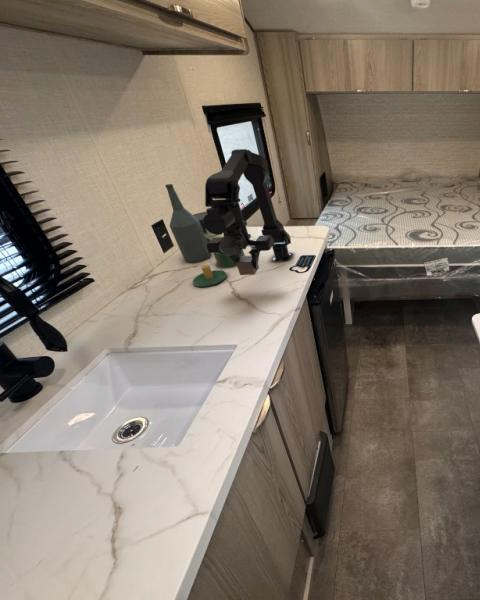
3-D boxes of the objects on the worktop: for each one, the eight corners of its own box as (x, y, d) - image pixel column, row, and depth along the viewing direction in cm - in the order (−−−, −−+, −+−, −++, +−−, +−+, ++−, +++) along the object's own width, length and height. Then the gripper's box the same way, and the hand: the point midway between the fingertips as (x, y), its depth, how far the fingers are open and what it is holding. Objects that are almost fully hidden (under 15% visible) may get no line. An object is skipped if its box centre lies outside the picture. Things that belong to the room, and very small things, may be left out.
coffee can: (200, 252, 141) (188, 221, 133) (201, 244, 148) (189, 214, 141) (226, 247, 144) (215, 216, 136) (226, 239, 152) (215, 210, 144)
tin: (224, 256, 137) (220, 243, 133) (249, 255, 137) (245, 242, 133) (213, 268, 128) (208, 254, 125) (240, 267, 128) (235, 253, 125)
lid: (202, 273, 124) (197, 260, 121) (231, 272, 125) (227, 259, 121) (187, 288, 115) (181, 274, 112) (219, 287, 115) (213, 273, 112)
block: (245, 268, 106) (241, 256, 104) (259, 267, 106) (255, 255, 104) (240, 275, 102) (235, 262, 100) (254, 274, 102) (250, 261, 100)
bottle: (180, 263, 132) (146, 188, 115) (191, 253, 140) (161, 181, 124) (206, 262, 132) (176, 187, 116) (216, 252, 141) (189, 180, 124)
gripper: (187, 233, 88) (208, 282, 97) (256, 230, 88) (270, 280, 97) (206, 219, 98) (223, 265, 106) (268, 216, 98) (280, 263, 106)
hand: (248, 268), depth 104 cm, fingers closed on block, 4 cm apart
